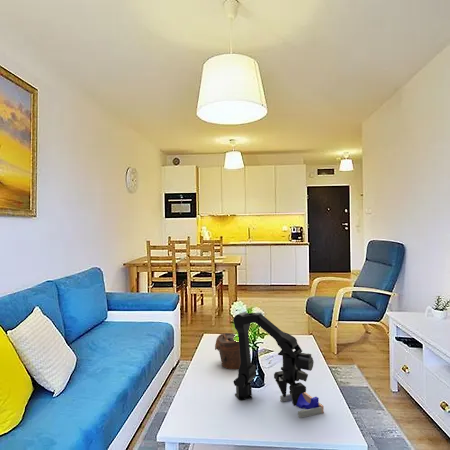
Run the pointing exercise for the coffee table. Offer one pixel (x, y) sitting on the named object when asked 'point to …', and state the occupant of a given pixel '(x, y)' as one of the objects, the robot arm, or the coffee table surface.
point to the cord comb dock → (309, 411)
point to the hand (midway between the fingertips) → (289, 401)
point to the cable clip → (304, 404)
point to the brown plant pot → (228, 351)
